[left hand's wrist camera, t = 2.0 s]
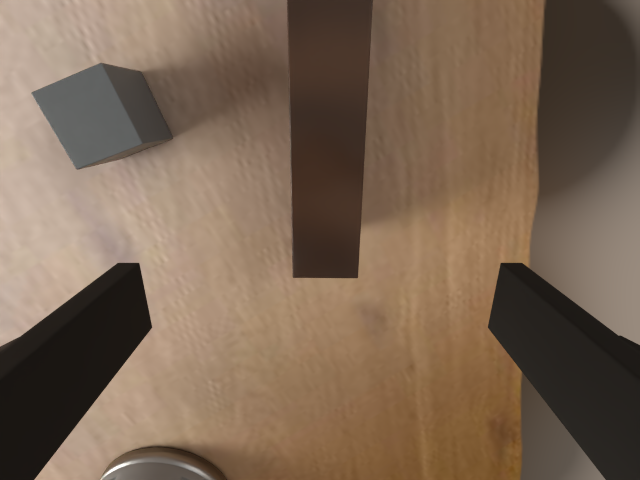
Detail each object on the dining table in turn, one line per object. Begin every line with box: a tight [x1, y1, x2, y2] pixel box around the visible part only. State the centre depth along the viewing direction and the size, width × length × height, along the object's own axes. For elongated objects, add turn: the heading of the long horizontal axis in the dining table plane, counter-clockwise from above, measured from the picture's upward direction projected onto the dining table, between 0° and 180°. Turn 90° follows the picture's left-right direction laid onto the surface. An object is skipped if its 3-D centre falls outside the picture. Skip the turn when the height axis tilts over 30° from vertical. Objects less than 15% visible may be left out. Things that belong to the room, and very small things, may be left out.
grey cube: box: [32, 63, 173, 169], centre depth 24 cm, size 5×5×5 cm
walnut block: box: [287, 0, 373, 278], centre depth 21 cm, size 26×4×9 cm, turn 179°
